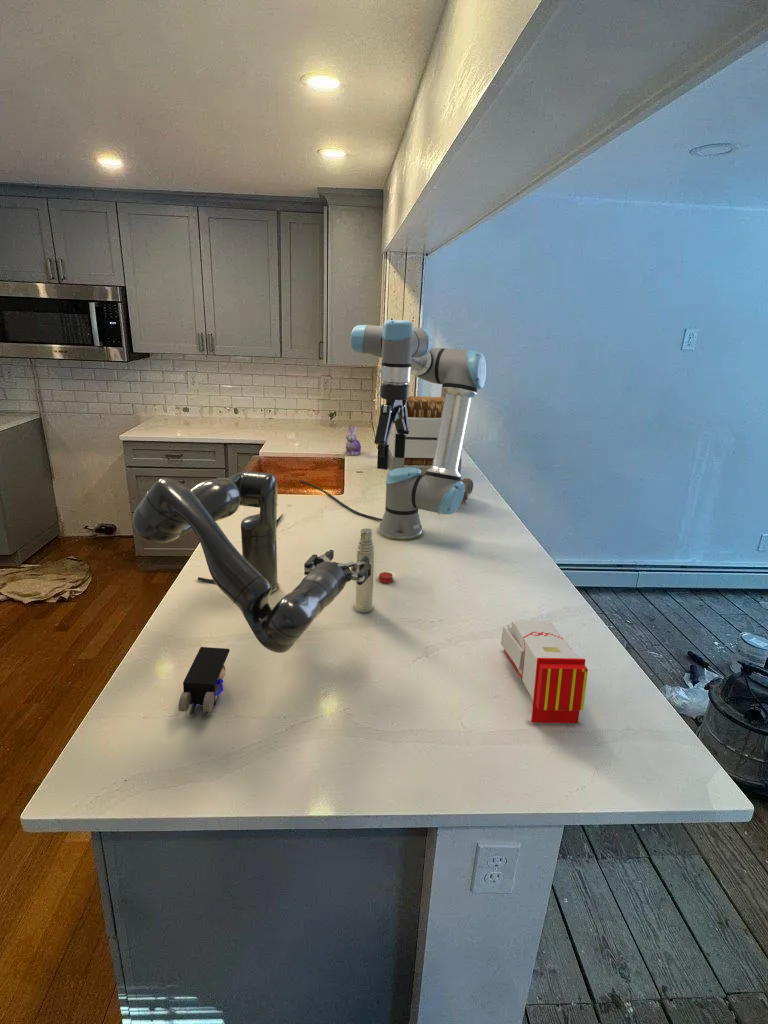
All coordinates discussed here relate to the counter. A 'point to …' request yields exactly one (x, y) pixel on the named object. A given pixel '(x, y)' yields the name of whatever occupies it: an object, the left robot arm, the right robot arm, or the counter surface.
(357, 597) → the bottle
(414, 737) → the counter surface
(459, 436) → the right robot arm
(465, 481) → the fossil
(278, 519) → the feather
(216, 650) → the black wheeled cart
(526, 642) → the toy
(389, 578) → the cap
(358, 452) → the figurine
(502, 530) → the counter surface
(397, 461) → the white slatted crate
